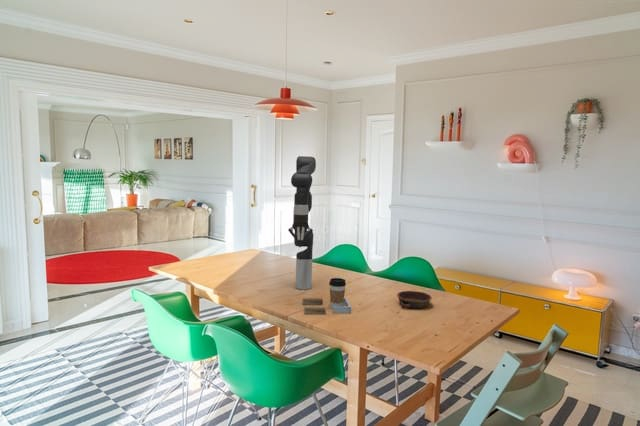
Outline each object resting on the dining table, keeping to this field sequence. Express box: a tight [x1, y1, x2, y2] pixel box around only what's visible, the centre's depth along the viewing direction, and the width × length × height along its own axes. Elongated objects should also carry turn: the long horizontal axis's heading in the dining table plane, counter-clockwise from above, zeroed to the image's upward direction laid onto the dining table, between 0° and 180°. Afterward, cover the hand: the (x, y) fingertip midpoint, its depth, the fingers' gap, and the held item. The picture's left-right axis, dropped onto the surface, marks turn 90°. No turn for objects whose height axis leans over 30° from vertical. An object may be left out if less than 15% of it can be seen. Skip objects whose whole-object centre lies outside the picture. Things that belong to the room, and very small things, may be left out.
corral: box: [329, 297, 352, 314], centre depth 219 cm, size 14×8×3 cm, turn 5°
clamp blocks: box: [302, 297, 327, 315], centre depth 218 cm, size 17×10×2 cm, turn 5°
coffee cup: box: [328, 277, 347, 311], centre depth 218 cm, size 8×8×15 cm
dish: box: [396, 290, 432, 309], centre depth 229 cm, size 18×22×5 cm
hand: (300, 246), depth 224 cm, fingers closed
